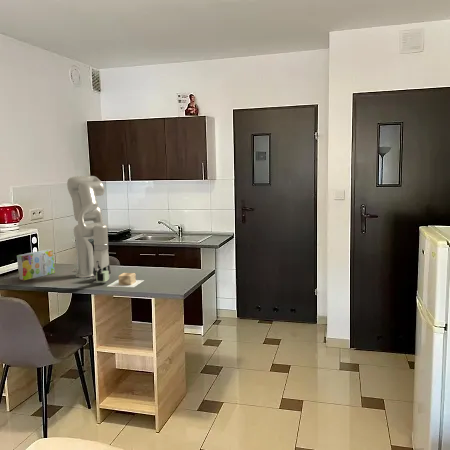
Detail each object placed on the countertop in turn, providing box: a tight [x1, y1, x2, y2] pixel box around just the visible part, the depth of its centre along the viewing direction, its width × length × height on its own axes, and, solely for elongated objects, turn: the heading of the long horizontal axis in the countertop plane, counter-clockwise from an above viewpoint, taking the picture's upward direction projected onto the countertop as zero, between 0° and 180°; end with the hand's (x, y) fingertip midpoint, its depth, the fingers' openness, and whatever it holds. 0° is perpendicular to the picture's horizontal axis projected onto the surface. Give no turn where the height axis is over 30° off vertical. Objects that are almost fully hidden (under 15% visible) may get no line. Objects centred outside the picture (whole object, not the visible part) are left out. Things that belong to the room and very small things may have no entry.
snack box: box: [16, 249, 56, 281], centre depth 281 cm, size 21×6×15 cm, turn 145°
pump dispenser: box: [93, 264, 112, 280], centre depth 268 cm, size 10×10×15 cm
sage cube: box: [95, 270, 110, 283], centre depth 255 cm, size 5×5×5 cm
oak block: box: [118, 272, 137, 285], centre depth 254 cm, size 7×7×5 cm
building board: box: [106, 279, 145, 288], centre depth 255 cm, size 16×15×1 cm
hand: (102, 279), depth 255 cm, fingers closed on sage cube, 4 cm apart
